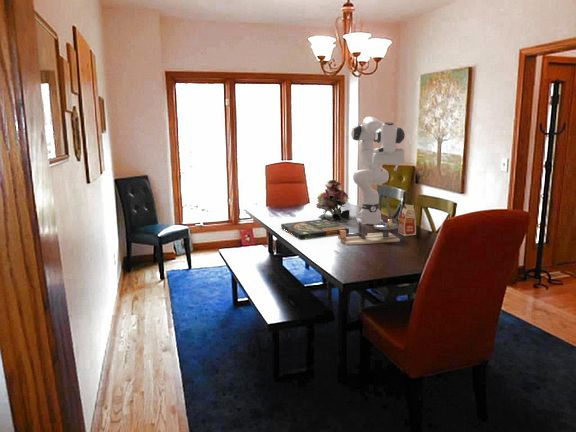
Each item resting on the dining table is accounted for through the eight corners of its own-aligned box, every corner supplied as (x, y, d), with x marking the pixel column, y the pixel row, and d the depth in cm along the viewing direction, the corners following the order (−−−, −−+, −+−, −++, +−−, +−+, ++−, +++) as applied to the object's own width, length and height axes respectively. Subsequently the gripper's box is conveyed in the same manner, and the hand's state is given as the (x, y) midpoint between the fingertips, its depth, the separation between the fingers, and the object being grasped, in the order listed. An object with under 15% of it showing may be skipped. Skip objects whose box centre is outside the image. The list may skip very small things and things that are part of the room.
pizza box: (325, 223, 322) (325, 218, 321) (348, 233, 290) (348, 228, 289) (281, 228, 309) (281, 223, 309) (300, 240, 277) (300, 234, 277)
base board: (338, 237, 278) (337, 220, 276) (389, 234, 283) (389, 217, 281) (345, 244, 261) (345, 226, 259) (399, 241, 266) (400, 223, 263)
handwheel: (370, 225, 277) (370, 215, 276) (392, 223, 279) (393, 214, 278) (378, 230, 262) (378, 220, 261) (402, 229, 264) (402, 219, 263)
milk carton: (404, 236, 278) (405, 205, 274) (397, 232, 287) (398, 202, 283) (417, 234, 280) (418, 204, 276) (409, 231, 289) (410, 201, 285)
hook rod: (338, 237, 271) (338, 230, 270) (365, 235, 273) (365, 228, 272) (340, 239, 267) (340, 231, 266) (367, 237, 270) (367, 229, 269)
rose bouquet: (349, 214, 349) (349, 177, 343) (350, 222, 321) (350, 182, 315) (316, 214, 352) (316, 177, 346) (315, 222, 323) (315, 182, 317)
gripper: (402, 148, 275) (401, 170, 278) (371, 149, 273) (371, 171, 275) (406, 148, 269) (405, 170, 272) (374, 149, 267) (374, 172, 269)
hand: (388, 171), depth 273 cm, fingers open, 8 cm apart
